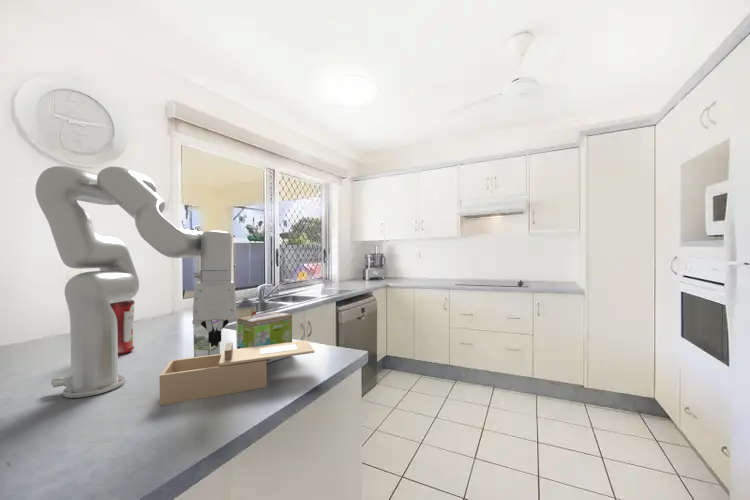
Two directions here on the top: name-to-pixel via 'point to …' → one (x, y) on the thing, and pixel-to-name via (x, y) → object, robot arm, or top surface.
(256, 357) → the mailer lid
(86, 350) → the robot arm
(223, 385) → the mailer box
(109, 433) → the top surface
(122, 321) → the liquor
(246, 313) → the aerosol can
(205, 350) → the syrup box
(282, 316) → the tea box
